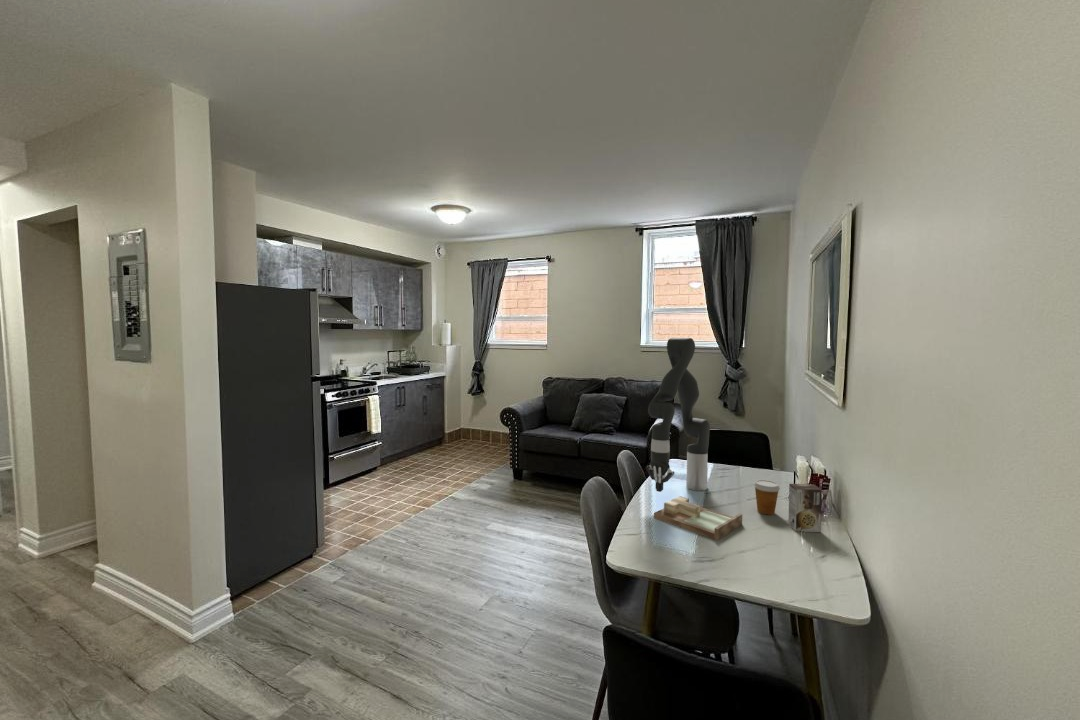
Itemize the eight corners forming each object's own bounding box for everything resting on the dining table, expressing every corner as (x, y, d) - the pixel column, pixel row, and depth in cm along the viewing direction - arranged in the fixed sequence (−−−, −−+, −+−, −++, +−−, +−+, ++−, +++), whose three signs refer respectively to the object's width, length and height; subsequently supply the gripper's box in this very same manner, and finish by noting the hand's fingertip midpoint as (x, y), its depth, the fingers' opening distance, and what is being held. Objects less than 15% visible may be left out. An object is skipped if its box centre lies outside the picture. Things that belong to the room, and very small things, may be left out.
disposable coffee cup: (767, 517, 177) (767, 488, 176) (747, 509, 186) (748, 481, 185) (784, 514, 181) (785, 485, 180) (764, 506, 189) (765, 478, 189)
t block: (680, 504, 186) (680, 496, 186) (704, 512, 178) (705, 503, 177) (663, 511, 178) (664, 503, 177) (689, 520, 169) (689, 511, 169)
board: (680, 505, 190) (680, 496, 190) (742, 524, 171) (742, 514, 170) (653, 517, 177) (653, 507, 176) (717, 540, 157) (717, 528, 157)
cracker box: (812, 525, 170) (813, 483, 169) (821, 532, 164) (823, 489, 163) (787, 524, 171) (788, 482, 170) (795, 531, 165) (796, 488, 164)
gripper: (679, 451, 183) (678, 493, 183) (651, 445, 192) (650, 485, 193) (669, 454, 178) (668, 497, 178) (641, 448, 187) (640, 488, 188)
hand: (659, 491), depth 186 cm, fingers closed
